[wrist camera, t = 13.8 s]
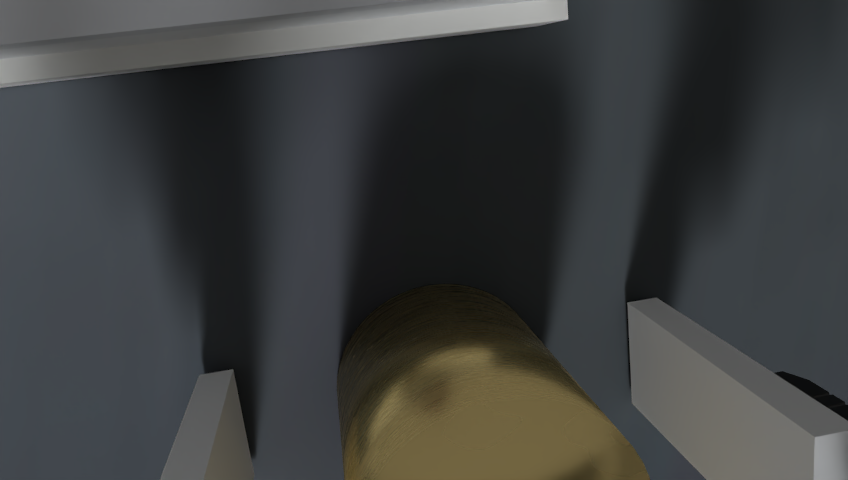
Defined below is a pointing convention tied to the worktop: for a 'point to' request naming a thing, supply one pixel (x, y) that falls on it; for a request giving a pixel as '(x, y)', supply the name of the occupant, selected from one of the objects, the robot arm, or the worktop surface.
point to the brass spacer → (467, 398)
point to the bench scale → (227, 30)
